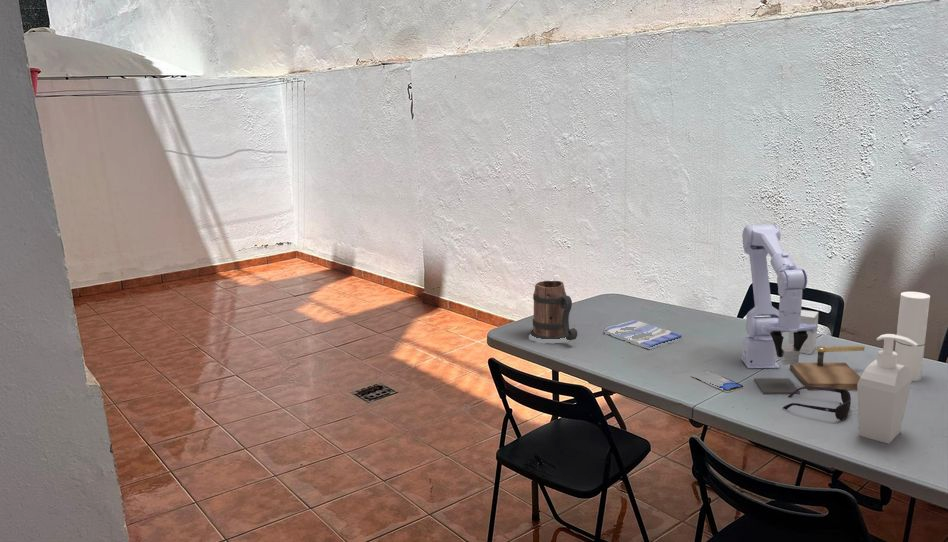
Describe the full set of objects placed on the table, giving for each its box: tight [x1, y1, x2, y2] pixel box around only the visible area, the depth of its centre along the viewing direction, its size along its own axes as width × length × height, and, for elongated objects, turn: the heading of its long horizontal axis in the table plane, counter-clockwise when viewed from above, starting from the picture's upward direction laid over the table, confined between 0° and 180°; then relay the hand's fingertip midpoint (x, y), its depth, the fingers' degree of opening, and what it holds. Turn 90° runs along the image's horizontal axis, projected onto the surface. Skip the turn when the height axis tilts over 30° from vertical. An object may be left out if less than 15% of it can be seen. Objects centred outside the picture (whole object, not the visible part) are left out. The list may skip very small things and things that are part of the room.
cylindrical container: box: [894, 291, 931, 382], centre depth 202 cm, size 7×7×25 cm
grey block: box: [776, 343, 800, 366], centre depth 200 cm, size 4×6×4 cm, turn 174°
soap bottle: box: [856, 333, 918, 445], centre depth 169 cm, size 12×10×26 cm
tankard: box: [529, 280, 578, 341], centre depth 249 cm, size 23×17×20 cm
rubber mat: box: [753, 377, 801, 395], centre depth 202 cm, size 10×10×1 cm
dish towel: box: [603, 318, 683, 348], centre depth 250 cm, size 17×24×3 cm
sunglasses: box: [782, 386, 852, 422], centre depth 187 cm, size 14×16×5 cm
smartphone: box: [709, 371, 745, 391], centre depth 208 cm, size 8×15×1 cm, turn 27°
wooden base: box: [789, 352, 861, 391], centre depth 205 cm, size 16×16×6 cm
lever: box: [816, 345, 865, 354], centre depth 210 cm, size 14×2×1 cm, turn 88°
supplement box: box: [787, 309, 819, 355], centre depth 228 cm, size 7×7×13 cm
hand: (787, 355), depth 200 cm, fingers closed on grey block, 4 cm apart
